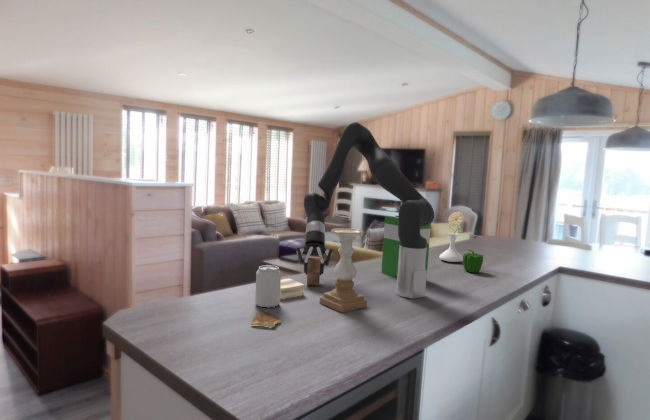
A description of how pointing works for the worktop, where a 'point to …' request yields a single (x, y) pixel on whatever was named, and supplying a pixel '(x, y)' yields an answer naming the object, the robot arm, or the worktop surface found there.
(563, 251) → the worktop surface
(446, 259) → the flower in vase
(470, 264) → the bell pepper
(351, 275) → the candle holder
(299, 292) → the birch block
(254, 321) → the sandwich
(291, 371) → the worktop surface
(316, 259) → the walnut pillar
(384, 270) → the green and white box
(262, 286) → the can
